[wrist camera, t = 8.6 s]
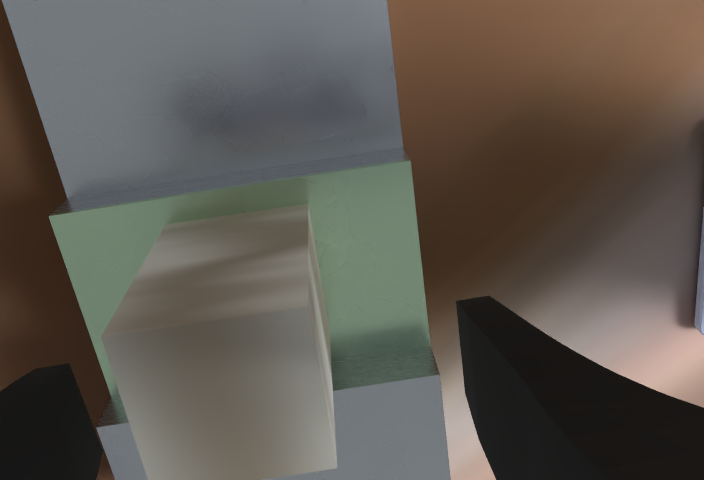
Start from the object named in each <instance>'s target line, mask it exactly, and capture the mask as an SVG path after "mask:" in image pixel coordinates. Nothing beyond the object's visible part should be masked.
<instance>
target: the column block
mask: <svg viewBox="0 0 704 480" xmlns="http://www.w3.org/2000/svg"><path fill="white" fill-rule="evenodd" d="M101 339H102V342H103V345H104V348H105V351H106V354H107V357H108V360H109V363H110V366H111V369H112V372H113V375H114V379H115V382H116V385H117V388H118V391H119V394H120V397H121V400H122V403H123V406H124V409H125V412H126V415H127V418H128V421H129V424H130V427H131V430H132V433H133V436H134V439H135V442H136V445H137V448H138V451H139V454H140V457H141V460H142V463H143V466H144V469H145V472H146V475H147V478H148V480H262V479H269V478H276V477H282V476H289V475H296V474H302V473H309V472H316V471H323V470H329V469H336V468H337V455H336V438H335V420H334V403H333V385H332V368H331V350H330V333H329V323H328V317H327V311H326V305H325V299H324V293H323V287H322V281H321V276H320V270H319V264H318V258H317V252H316V246H315V240H314V234H313V228H312V222H311V216H310V210H309V204H308V203H307V204H300V205H293V206H286V207H280V208H273V209H266V210H259V211H252V212H245V213H238V214H232V215H225V216H218V217H211V218H204V219H197V220H190V221H184V222H177V223H170V224H165V226H164V228H163V230H162V231H161V233H160V235H159V237H158V238H157V240H156V242H155V243H154V245H153V247H152V249H151V250H150V252H149V254H148V256H147V257H146V259H145V261H144V263H143V264H142V266H141V268H140V269H139V271H138V273H137V275H136V276H135V278H134V280H133V282H132V283H131V285H130V287H129V289H128V290H127V292H126V294H125V296H124V297H123V299H122V301H121V302H120V304H119V306H118V308H117V309H116V311H115V313H114V315H113V316H112V318H111V320H110V322H109V323H108V325H107V327H106V328H105V330H104V332H103V334H102V335H101Z"/></svg>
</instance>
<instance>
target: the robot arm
mask: <svg viewBox="0 0 704 480" xmlns="http://www.w3.org/2000/svg"><path fill="white" fill-rule="evenodd" d="M456 304H457V314H458V324H459V335H460V345H461V355H462V365H463V375H464V386H465V394H466V397H467V401H468V404H469V408H470V411H471V415H472V418H473V421H474V425H475V428H476V431H477V435H478V438H479V441H480V443H481V445H482V448H483V450H484V452H485V455H486V457H487V459H488V462H489V464H490V466H491V469H492V471H493V473H494V475H495V478H496V480H704V408H703V407H700V406H697V405H694V404H691V403H688V402H685V401H682V400H679V399H676V398H674V397H671V396H668V395H666V394H663V393H661V392H658V391H656V390H653V389H651V388H648V387H646V386H644V385H642V384H639V383H637V382H635V381H632V380H630V379H628V378H626V377H623V376H621V375H619V374H617V373H615V372H613V371H611V370H609V369H607V368H604V367H603V366H601V365H599V364H597V363H595V362H593V361H591V360H590V359H588V358H586V357H584V356H582V355H580V354H578V353H577V352H575V351H573V350H571V349H570V348H568V347H566V346H565V345H563V344H561V343H559V342H558V341H556V340H555V339H553V338H551V337H550V336H548V335H547V334H545V333H544V332H542V331H540V330H539V329H537V328H536V327H534V326H533V325H531V324H530V323H528V322H527V321H525V320H524V319H522V318H521V317H519V316H518V315H517V314H515V313H514V312H512V311H511V310H509V309H508V308H507V307H505V306H504V305H502V304H501V303H499V302H498V301H496V300H495V299H493V298H492V297H490V296H485V297H478V298H472V299H466V300H460V301H456ZM695 327H696V329H697V330H698V331H699V332H700V333H701V334H702V335H704V209H703V221H702V234H701V247H700V259H699V272H698V285H697V297H696V310H695ZM101 456H102V448H101V446H100V443H99V441H98V438H97V435H96V433H95V430H94V427H93V425H92V422H91V420H90V417H89V414H88V412H87V409H86V406H85V404H84V401H83V399H82V396H81V393H80V391H79V388H78V386H77V383H76V380H75V378H74V375H73V372H72V370H71V367H70V365H69V364H62V365H56V366H50V367H44V368H38V369H35V370H33V371H32V372H30V373H28V374H26V375H25V376H23V377H21V378H20V379H18V380H17V381H15V382H14V383H12V384H11V385H9V386H8V387H6V388H5V389H3V390H2V391H0V480H96V478H97V473H98V469H99V465H100V460H101Z"/></svg>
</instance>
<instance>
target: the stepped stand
mask: <svg viewBox="0 0 704 480" xmlns="http://www.w3.org/2000/svg"><path fill="white" fill-rule="evenodd" d="M2 2H3V5H4V8H5V11H6V14H7V17H8V20H9V23H10V26H11V29H12V32H13V35H14V38H15V41H16V44H17V47H18V50H19V54H20V57H21V60H22V63H23V66H24V69H25V72H26V75H27V78H28V81H29V84H30V87H31V90H32V93H33V96H34V99H35V102H36V105H37V108H38V111H39V114H40V117H41V120H42V123H43V126H44V129H45V132H46V135H47V138H48V141H49V144H50V147H51V150H52V153H53V156H54V159H55V162H56V165H57V168H58V171H59V174H60V177H61V180H62V183H63V186H64V189H65V192H66V195H67V198H68V199H66V200H65V201H64V202H63V203H62V204H61V205H60V206H59V207H58V208H57V209H56V210H55V211H54V212H52V213H51V214H50V215H49V219H50V222H51V225H52V228H53V231H54V234H55V237H56V239H57V242H58V245H59V248H60V251H61V254H62V257H63V260H64V262H65V265H66V268H67V271H68V274H69V277H70V280H71V283H72V285H73V288H74V291H75V294H76V297H77V300H78V303H79V306H80V308H81V311H82V314H83V317H84V320H85V323H86V326H87V329H88V331H89V334H90V337H91V340H92V343H93V346H94V349H95V352H96V354H97V357H98V360H99V363H100V366H101V369H102V372H103V375H104V377H105V380H106V383H107V386H108V389H109V392H110V395H111V397H110V399H109V401H108V403H107V405H106V408H105V410H104V412H103V414H102V416H101V418H100V420H99V422H98V425H97V427H96V429H97V432H98V434H99V437H100V440H101V442H102V445H103V448H104V451H105V453H106V456H107V459H108V461H109V464H110V467H111V470H112V472H113V475H114V478H115V480H148V478H147V475H146V472H145V469H144V466H143V463H142V460H141V457H140V454H139V451H138V448H137V445H136V442H135V439H134V436H133V433H132V430H131V427H130V424H129V421H128V418H127V415H126V412H125V409H124V406H123V403H122V400H121V397H120V394H119V391H118V388H117V385H116V382H115V379H114V375H113V372H112V369H111V366H110V363H109V360H108V357H107V354H106V351H105V348H104V345H103V342H102V339H101V335H102V334H103V332H104V330H105V328H106V327H107V325H108V323H109V322H110V320H111V318H112V316H113V315H114V313H115V311H116V309H117V308H118V306H119V304H120V302H121V301H122V299H123V297H124V296H125V294H126V292H127V290H128V289H129V287H130V285H131V283H132V282H133V280H134V278H135V276H136V275H137V273H138V271H139V269H140V268H141V266H142V264H143V263H144V261H145V259H146V257H147V256H148V254H149V252H150V250H151V249H152V247H153V245H154V243H155V242H156V240H157V238H158V237H159V235H160V233H161V231H162V230H163V228H164V226H165V224H170V223H177V222H184V221H190V220H197V219H204V218H211V217H218V216H225V215H232V214H238V213H245V212H252V211H259V210H266V209H273V208H280V207H286V206H293V205H300V204H307V203H308V204H309V210H310V216H311V222H312V228H313V234H314V240H315V246H316V252H317V258H318V264H319V270H320V276H321V281H322V287H323V293H324V299H325V305H326V311H327V317H328V323H329V333H330V350H331V368H332V385H333V403H334V420H335V438H336V455H337V468H336V469H329V470H323V471H316V472H309V473H302V474H296V475H289V476H282V477H276V478H269V479H262V480H451V479H450V469H449V459H448V449H447V440H446V430H445V420H444V411H443V401H442V391H441V382H440V374H439V371H438V368H437V365H436V362H435V358H434V355H433V352H432V349H431V345H430V336H429V327H428V318H427V308H426V299H425V290H424V280H423V271H422V262H421V253H420V243H419V234H418V225H417V216H416V206H415V197H414V188H413V178H412V169H411V161H410V159H409V157H408V155H407V153H406V151H405V150H404V148H403V141H402V132H401V123H400V114H399V105H398V96H397V87H396V78H395V69H394V60H393V52H392V43H391V34H390V25H389V16H388V7H387V0H2Z"/></svg>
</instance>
